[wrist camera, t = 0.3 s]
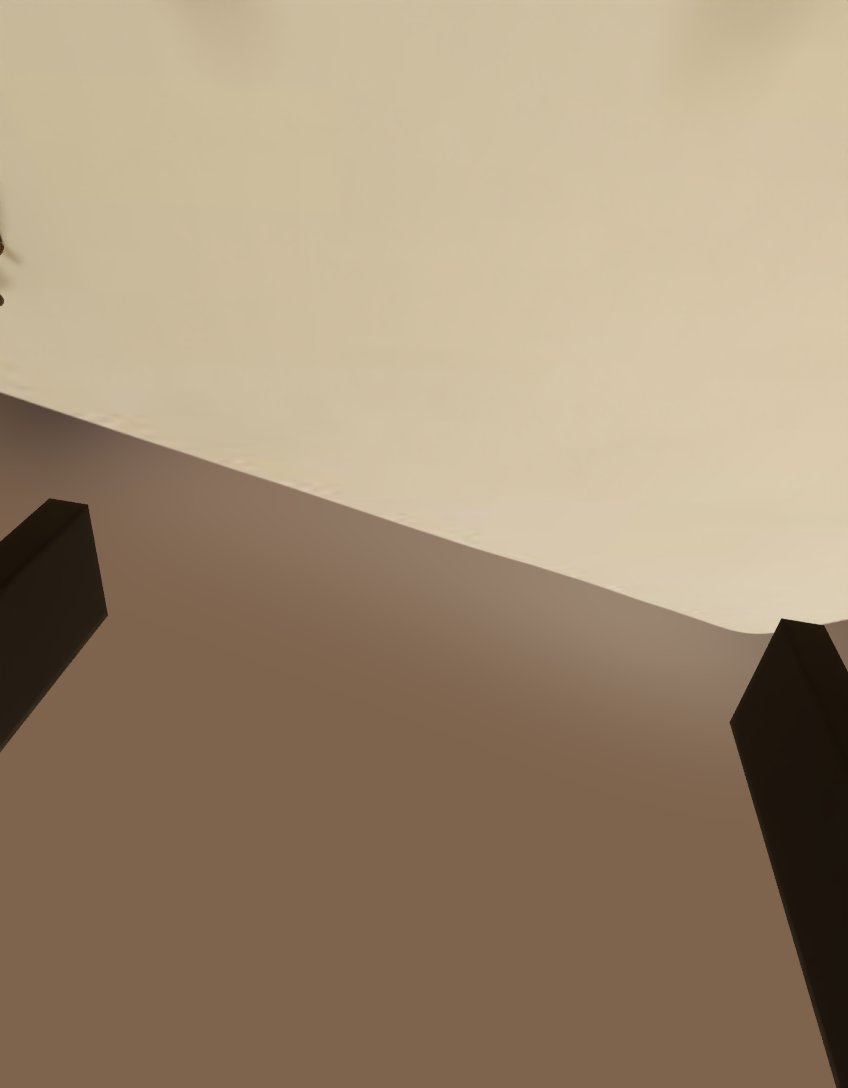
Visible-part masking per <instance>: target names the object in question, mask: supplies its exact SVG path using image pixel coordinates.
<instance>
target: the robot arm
mask: <svg viewBox="0 0 848 1088" xmlns="http://www.w3.org/2000/svg"><path fill="white" fill-rule="evenodd" d="M107 616H108V614H107V608H106V602H105V598H104V591H103V586H102V580H101V575H100V569H99V564H98V558H97V553H96V547H95V542H94V536H93V530H92V525H91V519H90V514H89V509H88V505H87V504H81V503H74V502H68V501H62V500H56V499H48V500H47V501H46V502H45V503H44V504H43V505H41V506H40V507H39V508H38V509H37V510H36V511H35V512H33V514H31V515H30V516H29V517H28V518H27V519H25V520H24V521H23V522H22V523H21V524H20V525H19V526H17V527H16V528H15V529H14V530H13V531H12V532H11V533H10V534H8V535H7V536H6V537H5V538H4V539H3V540H2V541H0V752H1V750H2V749H3V748H4V746H5V745H6V744H7V743H8V741H9V740H10V739H11V738H12V737H13V735H14V734H15V733H16V731H17V730H18V729H19V728H20V726H21V725H22V724H23V722H24V721H25V720H26V719H27V717H28V716H29V715H30V714H31V712H32V711H33V710H34V709H35V707H36V706H37V705H38V703H39V702H40V701H41V700H42V698H43V697H44V696H45V695H46V693H47V692H48V691H49V690H50V688H51V687H52V686H53V684H54V683H55V682H56V681H57V679H58V678H59V677H60V676H61V674H62V673H63V671H64V670H65V669H66V668H67V667H68V665H69V664H70V663H71V662H72V660H73V659H74V658H75V656H76V655H77V654H78V653H79V651H80V650H81V649H82V648H83V646H84V645H85V644H86V642H87V641H88V640H89V639H90V637H91V636H92V635H93V634H94V632H95V631H96V630H97V628H98V627H99V626H100V625H101V623H102V622H103V621H104V620H105V618H106V617H107ZM730 725H731V728H732V732H733V735H734V739H735V742H736V745H737V749H738V752H739V756H740V759H741V762H742V766H743V769H744V772H745V776H746V780H747V783H748V787H749V790H750V793H751V797H752V800H753V804H754V807H755V810H756V814H757V817H758V821H759V824H760V828H761V831H762V834H763V838H764V841H765V844H766V848H767V851H768V855H769V858H770V862H771V865H772V869H773V872H774V875H775V879H776V882H777V886H778V889H779V893H780V896H781V899H782V903H783V906H784V909H785V913H786V917H787V920H788V923H789V927H790V930H791V933H792V937H793V941H794V944H795V947H796V951H797V954H798V958H799V961H800V965H801V968H802V971H803V975H804V978H805V981H806V985H807V988H808V992H809V995H810V999H811V1002H812V1006H813V1009H814V1012H815V1016H816V1019H817V1023H818V1026H819V1030H820V1033H821V1036H822V1040H823V1043H824V1046H825V1050H826V1054H827V1057H828V1060H829V1064H830V1067H831V1070H832V1074H833V1077H834V1081H835V1084H836V1087H837V1088H848V671H847V669H846V668H845V665H844V663H843V661H842V660H841V658H840V656H839V654H838V652H837V650H836V648H835V646H834V644H833V642H832V640H831V638H830V636H829V634H828V632H827V630H826V628H825V626H824V625H818V624H812V623H806V622H800V621H793V620H787V619H781V620H780V622H779V624H778V626H777V628H776V630H775V632H774V634H773V636H772V638H771V641H770V643H769V644H768V647H767V649H766V651H765V653H764V655H763V657H762V659H761V661H760V663H759V665H758V667H757V669H756V671H755V673H754V675H753V677H752V679H751V681H750V683H749V685H748V687H747V689H746V691H745V693H744V695H743V697H742V699H741V701H740V703H739V705H738V707H737V709H736V711H735V713H734V715H733V717H732V719H731V721H730Z"/></svg>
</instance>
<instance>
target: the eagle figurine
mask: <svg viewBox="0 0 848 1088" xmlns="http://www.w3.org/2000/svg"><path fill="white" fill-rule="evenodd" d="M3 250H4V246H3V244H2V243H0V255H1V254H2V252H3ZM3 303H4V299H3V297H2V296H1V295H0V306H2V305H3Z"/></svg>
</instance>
